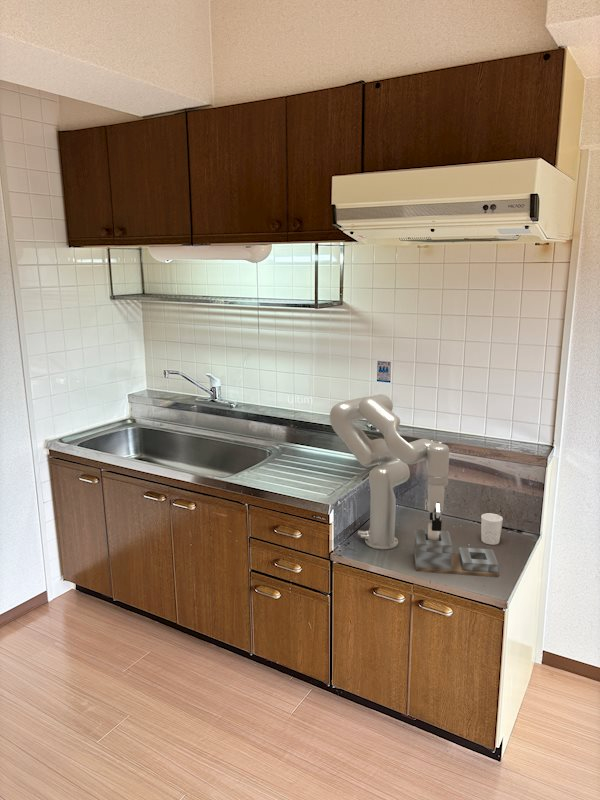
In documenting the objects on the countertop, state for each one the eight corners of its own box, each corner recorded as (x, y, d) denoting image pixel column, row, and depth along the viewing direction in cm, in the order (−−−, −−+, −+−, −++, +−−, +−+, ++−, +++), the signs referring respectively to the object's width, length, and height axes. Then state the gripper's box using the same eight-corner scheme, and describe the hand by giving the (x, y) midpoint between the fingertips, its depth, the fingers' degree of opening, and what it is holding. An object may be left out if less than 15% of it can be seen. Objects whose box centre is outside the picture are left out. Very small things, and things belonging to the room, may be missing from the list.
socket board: (415, 571, 214) (417, 544, 212) (413, 553, 228) (415, 528, 226) (498, 576, 210) (500, 550, 208) (491, 558, 224) (493, 532, 222)
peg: (427, 547, 217) (428, 526, 215) (426, 542, 221) (427, 521, 219) (439, 547, 216) (440, 526, 215) (438, 542, 220) (439, 522, 219)
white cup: (484, 535, 244) (486, 511, 242) (503, 540, 239) (505, 516, 237) (476, 541, 238) (478, 517, 236) (496, 547, 233) (498, 523, 231)
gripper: (424, 471, 222) (423, 515, 226) (427, 486, 205) (426, 534, 209) (445, 471, 221) (443, 516, 225) (450, 487, 204) (448, 535, 208)
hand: (435, 525), depth 217 cm, fingers open, 9 cm apart
